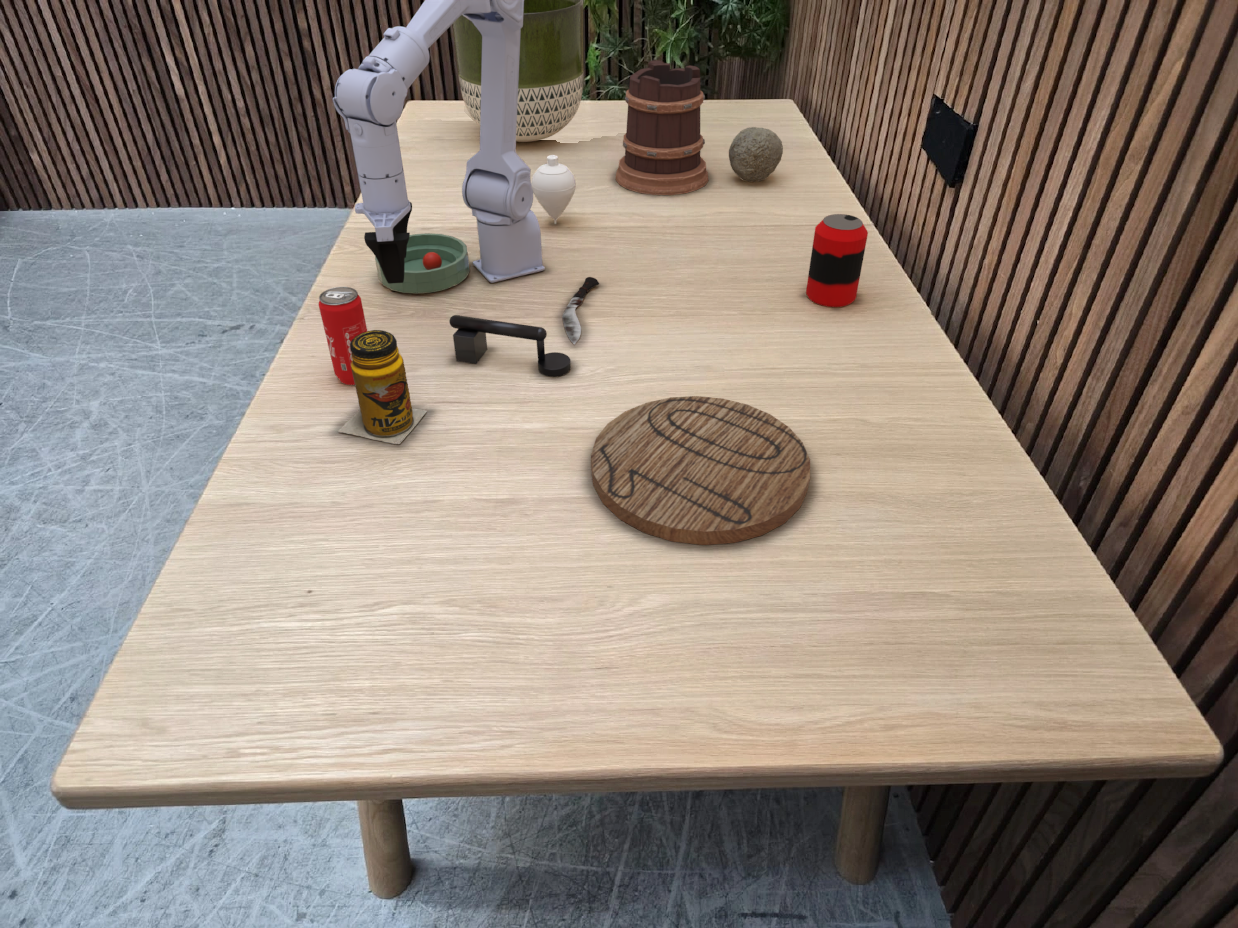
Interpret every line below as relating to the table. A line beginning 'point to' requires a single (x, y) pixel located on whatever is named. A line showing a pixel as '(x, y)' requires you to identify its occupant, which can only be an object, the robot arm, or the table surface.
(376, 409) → the condiment
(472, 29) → the planter
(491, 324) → the crank handle
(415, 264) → the bowl
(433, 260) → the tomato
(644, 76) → the brown wooden barrel
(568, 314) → the knife
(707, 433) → the trivet
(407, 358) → the table surface
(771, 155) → the decorative stone
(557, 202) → the spinning top
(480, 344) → the dark grey cube
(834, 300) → the soda can
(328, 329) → the beverage can
